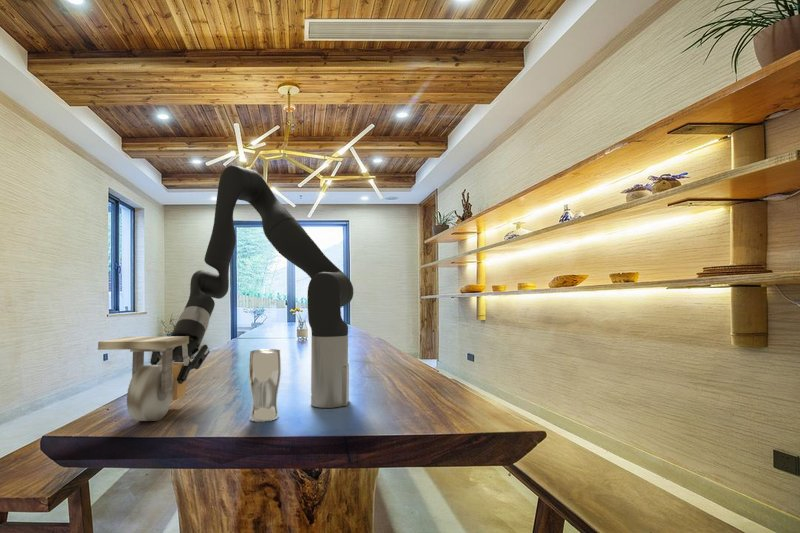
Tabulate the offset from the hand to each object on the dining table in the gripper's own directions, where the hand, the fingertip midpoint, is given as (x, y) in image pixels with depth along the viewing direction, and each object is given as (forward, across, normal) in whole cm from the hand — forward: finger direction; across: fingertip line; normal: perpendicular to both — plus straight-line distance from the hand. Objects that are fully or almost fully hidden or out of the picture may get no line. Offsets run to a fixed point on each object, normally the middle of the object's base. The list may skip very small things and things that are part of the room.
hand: (167, 381), depth 105 cm
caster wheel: (+10, 0, 0) cm, 10 cm away
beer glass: (+10, +25, 0) cm, 27 cm away
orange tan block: (+2, 0, +4) cm, 5 cm away
